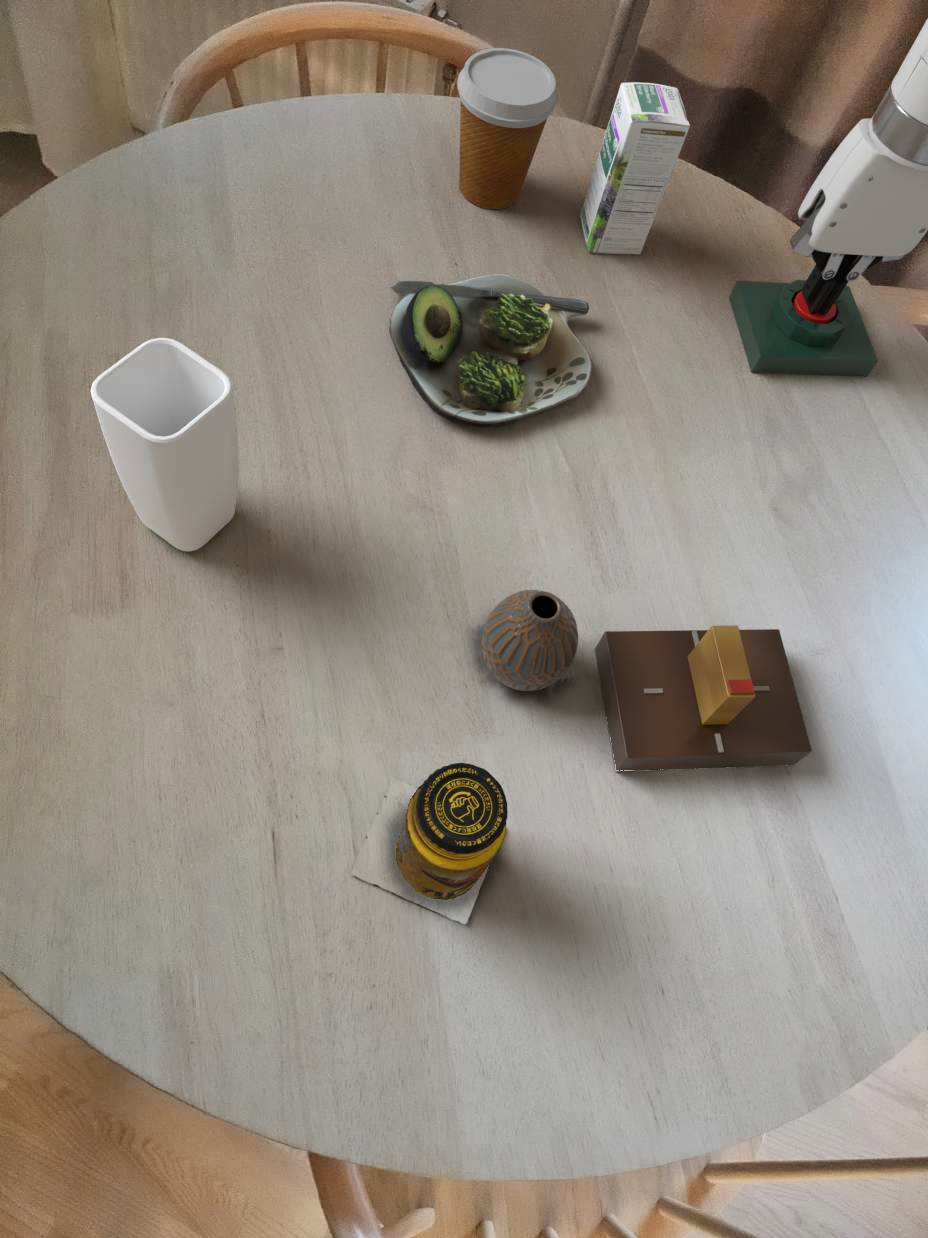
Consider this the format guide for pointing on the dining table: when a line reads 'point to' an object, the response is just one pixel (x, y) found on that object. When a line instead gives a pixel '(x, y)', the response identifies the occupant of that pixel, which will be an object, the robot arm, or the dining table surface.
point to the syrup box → (633, 167)
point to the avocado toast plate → (488, 348)
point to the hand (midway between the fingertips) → (813, 302)
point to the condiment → (451, 830)
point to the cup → (172, 439)
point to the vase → (530, 640)
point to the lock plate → (695, 704)
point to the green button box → (799, 333)
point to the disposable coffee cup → (501, 122)
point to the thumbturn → (720, 675)
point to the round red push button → (803, 310)
